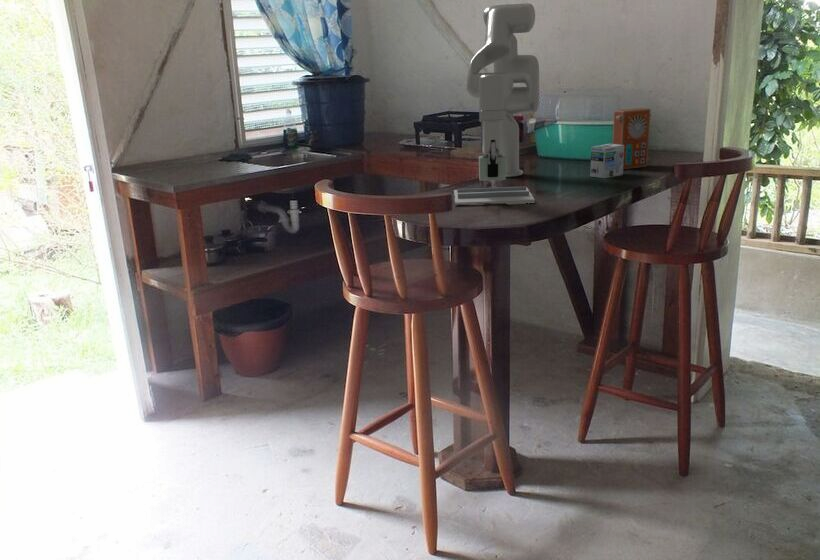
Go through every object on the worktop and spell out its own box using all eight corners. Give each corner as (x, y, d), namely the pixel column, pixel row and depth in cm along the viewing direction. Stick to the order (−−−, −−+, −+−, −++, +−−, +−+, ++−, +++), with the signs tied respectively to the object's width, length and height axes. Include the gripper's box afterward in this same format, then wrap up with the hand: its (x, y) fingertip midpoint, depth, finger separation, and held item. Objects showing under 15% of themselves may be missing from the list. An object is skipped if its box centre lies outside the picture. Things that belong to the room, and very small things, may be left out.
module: (479, 178, 220) (478, 154, 217) (504, 177, 219) (504, 153, 217) (479, 180, 215) (479, 156, 213) (505, 179, 214) (505, 155, 212)
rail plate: (454, 193, 229) (453, 185, 229) (526, 190, 228) (527, 183, 227) (455, 206, 210) (454, 197, 210) (534, 203, 209) (534, 195, 208)
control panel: (651, 166, 262) (618, 170, 257) (639, 164, 268) (607, 168, 263) (654, 108, 255) (621, 111, 250) (642, 107, 262) (609, 110, 256)
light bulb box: (604, 178, 242) (605, 147, 239) (589, 176, 248) (590, 146, 244) (623, 174, 248) (625, 144, 245) (608, 172, 254) (609, 143, 250)
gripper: (478, 114, 220) (478, 171, 225) (480, 118, 203) (481, 180, 209) (501, 113, 219) (502, 170, 225) (506, 117, 203) (506, 179, 208)
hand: (492, 174), depth 217 cm, fingers closed on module, 5 cm apart
